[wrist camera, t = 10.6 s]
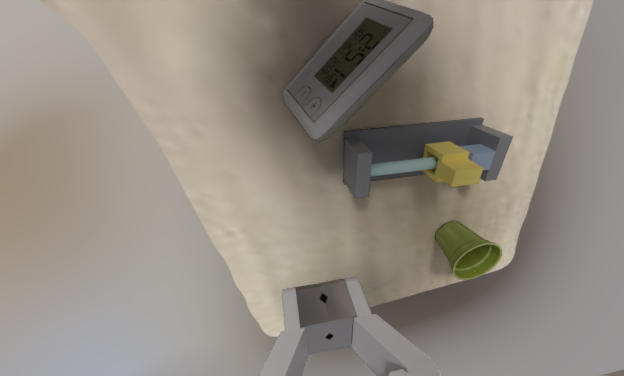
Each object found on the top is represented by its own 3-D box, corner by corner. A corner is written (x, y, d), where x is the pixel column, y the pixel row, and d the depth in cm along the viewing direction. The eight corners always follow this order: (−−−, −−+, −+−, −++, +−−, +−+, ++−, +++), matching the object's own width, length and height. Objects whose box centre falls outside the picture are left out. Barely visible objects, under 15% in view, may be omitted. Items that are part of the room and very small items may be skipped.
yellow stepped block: (420, 169, 40) (449, 193, 34) (425, 143, 38) (457, 164, 32) (443, 166, 41) (476, 189, 34) (449, 141, 38) (486, 160, 32)
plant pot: (463, 243, 56) (493, 274, 49) (424, 252, 55) (449, 284, 48) (473, 210, 51) (509, 239, 44) (430, 218, 50) (459, 249, 43)
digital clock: (374, -11, 29) (423, -33, 20) (401, 60, 34) (451, 67, 25) (265, 74, 32) (266, 86, 23) (304, 129, 37) (318, 158, 28)
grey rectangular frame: (343, 182, 42) (355, 204, 37) (344, 131, 38) (358, 146, 32) (465, 167, 45) (494, 184, 40) (481, 117, 40) (515, 129, 35)
